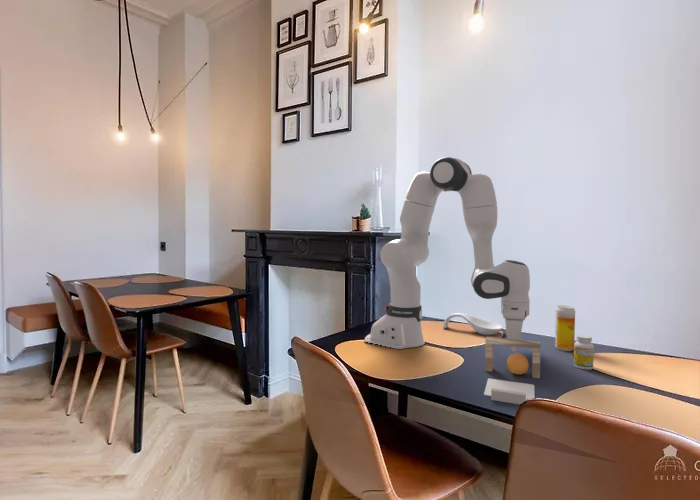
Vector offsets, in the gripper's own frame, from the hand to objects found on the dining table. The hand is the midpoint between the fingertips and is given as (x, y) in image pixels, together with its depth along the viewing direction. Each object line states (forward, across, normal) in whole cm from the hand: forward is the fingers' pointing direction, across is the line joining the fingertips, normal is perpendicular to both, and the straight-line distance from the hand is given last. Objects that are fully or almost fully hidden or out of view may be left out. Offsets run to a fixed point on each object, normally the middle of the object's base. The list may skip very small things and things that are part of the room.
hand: (514, 349), depth 136 cm
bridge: (+2, +17, 0) cm, 17 cm away
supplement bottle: (+2, +3, +20) cm, 20 cm away
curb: (+2, +38, 0) cm, 39 cm away
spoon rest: (+3, -27, -17) cm, 32 cm away
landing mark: (+2, +31, 0) cm, 31 cm away
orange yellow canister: (+2, -15, +16) cm, 22 cm away
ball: (-1, +18, +2) cm, 18 cm away
